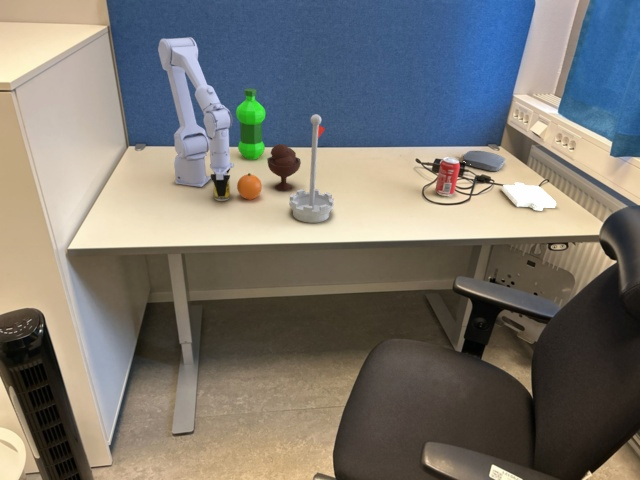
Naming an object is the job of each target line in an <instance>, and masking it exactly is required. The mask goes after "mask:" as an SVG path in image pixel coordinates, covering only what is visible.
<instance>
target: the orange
mask: <svg viewBox="0 0 640 480" xmlns="http://www.w3.org/2000/svg"><path fill="white" fill-rule="evenodd" d="M236 189H237V192H238V194H239V195H240V196H241V197H242V198H244V199H245V200H249V201H250V200H251V201H252V200H254V199H255V198H257V197H258V196H259V195H260V194H261V193H262V192H261V191H262V190H263V184H262V182H261V180H260V179H259V177H258V176H257V175H254V174H251V173H247V174H244V175H243V176H241V177H240V178H239V179H238V181H237V184H236Z"/></svg>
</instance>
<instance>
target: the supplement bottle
mask: <svg viewBox="0 0 640 480" xmlns="http://www.w3.org/2000/svg"><path fill="white" fill-rule="evenodd" d="M213 174H215V173H214V172H213ZM224 175H229V173H227V172H225V173H224ZM213 197H214V199H215V200H216V201H217V202H218V201H219V202H225V201H228V200H230V197H231V189H230V180H229V181H228V183H227V187H226V194H225V196H218V194H217V191H216V187H215V185H214V184H213Z"/></svg>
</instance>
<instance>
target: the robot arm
mask: <svg viewBox="0 0 640 480" xmlns="http://www.w3.org/2000/svg"><path fill="white" fill-rule="evenodd" d="M157 51H158V56H159V60H160V63H161V66H162V67H161V68H162V70H164V71H166V73H167V77H168V81H169V86H170V89H171V93H172V98H173V102H174V107H175V110H176V114H177V119H178V122H179V128H178V129H177V130H176V132H175V133H173V140H174V149H175V153H176V156H175V158H174V161H173V167H174V175H175V181H174V183H175V184H177V185H183V186H189V187H191V186H192V187H198V188H203V187H204V186H205V185H206V184H207V183H208V182H209V181H210V180H211V181H212V183H213V186H214V185H215V187H216V191H217V194H218V196H225V194H226V187H227V183H228V181H229V182H230V178H231V175H230V174H229V172H230V170H231V168H232V169H233V168H235V163H233V162H231V158H230V157H231V155H230V135H229V134H230V132H229V129H230V128H232V126H233V115H232V114H231V111H230V110H229V108H228V107H226V106H225V105H224V104H222V103H221V101H220V99H219V97H218V95H217V93H216V91H215V88H214V87H213V86H211V85H209V84H208V83H207V80H206V77H205V75H204V73H203V70H202V67H201V65H200V63H199V60H198V59H199V48H198V45H197V42H196V41H195V39H194V38H193V37H190V36H187V37H177V38H161V39H160V40H159V42H158V48H157ZM186 75H187V77H188V79H189V80H190V82H191V84H192V85H193V87H194V89H195V92H194V97H195V99H196V102H197V104H198V105H199V107H200V109H201V111H202V114H203V119H202V120H203V124H204V127H205V128H204V127H202V126H200V125H198V124H197V120H196V115H195V111H194V107H193V102H192V99H191V94H190V90H189V85H188V80H187V77H186ZM208 153H209V159H210V160H209V161H210V164H209V168H210V169H211V171H213V173H210V176H208V175H207V169H206V156H207V155H208ZM225 172H227V173H228V175H224V173H225ZM214 173H215V174H214Z"/></svg>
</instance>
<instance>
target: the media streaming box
mask: <svg viewBox="0 0 640 480" xmlns="http://www.w3.org/2000/svg"><path fill="white" fill-rule="evenodd" d="M462 157H463V158H462V161H461V162H462V163H463V161H465V162H466V163H465V162H464V163H465V164H464V163H463V164H464V165H465V166H469V167H472V168H477V169H481V170H485V171H489V172H498V171H500V170H501V169H502V168H503V166H504V165H505V162H506V158H505V157H503V156H502V155H499V154H498V153H497V154H496V153H494V152H491V151H486V150H469V151H467V152H466V153H465V154H464V155H463V156H462ZM470 164H471V165H470Z"/></svg>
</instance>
